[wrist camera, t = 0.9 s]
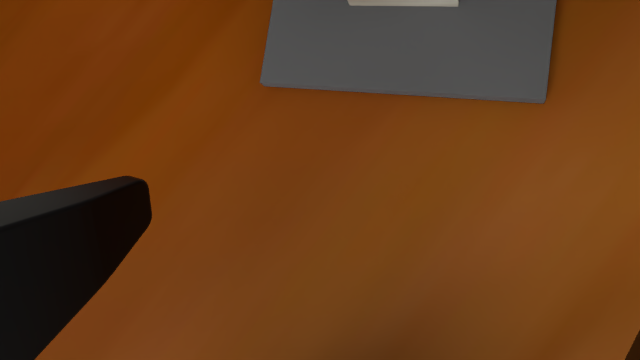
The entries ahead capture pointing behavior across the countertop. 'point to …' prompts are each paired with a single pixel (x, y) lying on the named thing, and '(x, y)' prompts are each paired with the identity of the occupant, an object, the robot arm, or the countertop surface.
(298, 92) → the countertop surface
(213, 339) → the countertop surface
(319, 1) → the rubber mat
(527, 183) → the countertop surface
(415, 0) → the tall block
